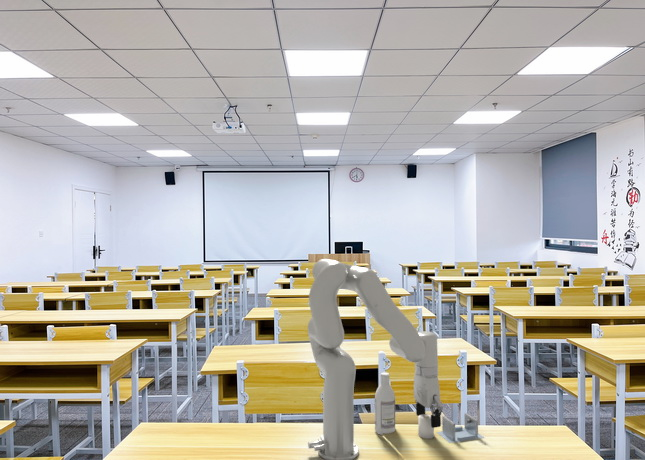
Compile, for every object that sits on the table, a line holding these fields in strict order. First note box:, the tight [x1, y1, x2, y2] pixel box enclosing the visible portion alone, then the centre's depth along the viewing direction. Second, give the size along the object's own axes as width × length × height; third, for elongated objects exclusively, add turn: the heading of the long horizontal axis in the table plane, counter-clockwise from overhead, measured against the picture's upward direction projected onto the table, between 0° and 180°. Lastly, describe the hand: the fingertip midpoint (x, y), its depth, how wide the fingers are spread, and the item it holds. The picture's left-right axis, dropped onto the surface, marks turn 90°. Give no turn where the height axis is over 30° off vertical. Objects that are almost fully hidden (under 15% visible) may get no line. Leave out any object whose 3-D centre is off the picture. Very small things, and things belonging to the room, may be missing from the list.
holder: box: [436, 425, 485, 444], centre depth 147 cm, size 13×8×2 cm, turn 107°
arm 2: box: [464, 412, 479, 437], centre depth 148 cm, size 2×6×6 cm, turn 17°
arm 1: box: [441, 415, 456, 441], centre depth 146 cm, size 2×6×6 cm, turn 17°
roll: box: [417, 413, 435, 440], centre depth 147 cm, size 5×5×7 cm
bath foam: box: [374, 372, 396, 436], centre depth 152 cm, size 7×7×20 cm
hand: (428, 420), depth 147 cm, fingers open, 9 cm apart
